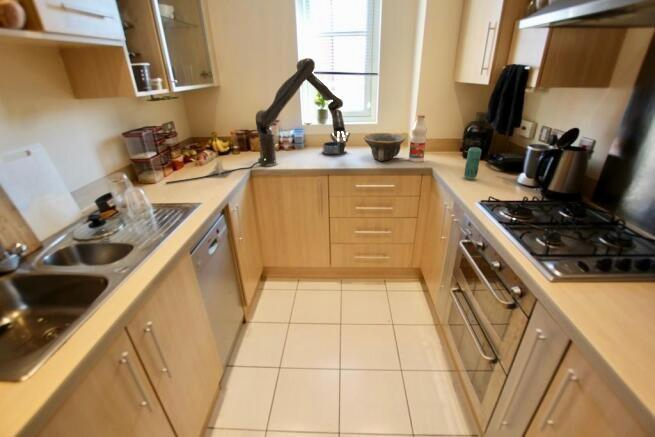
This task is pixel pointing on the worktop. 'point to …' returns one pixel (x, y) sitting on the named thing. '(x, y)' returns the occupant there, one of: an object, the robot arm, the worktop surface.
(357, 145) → the worktop surface
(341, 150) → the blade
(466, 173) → the beverage bottle
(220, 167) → the architectural model
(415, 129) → the fruit juice
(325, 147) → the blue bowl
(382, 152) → the bowl
